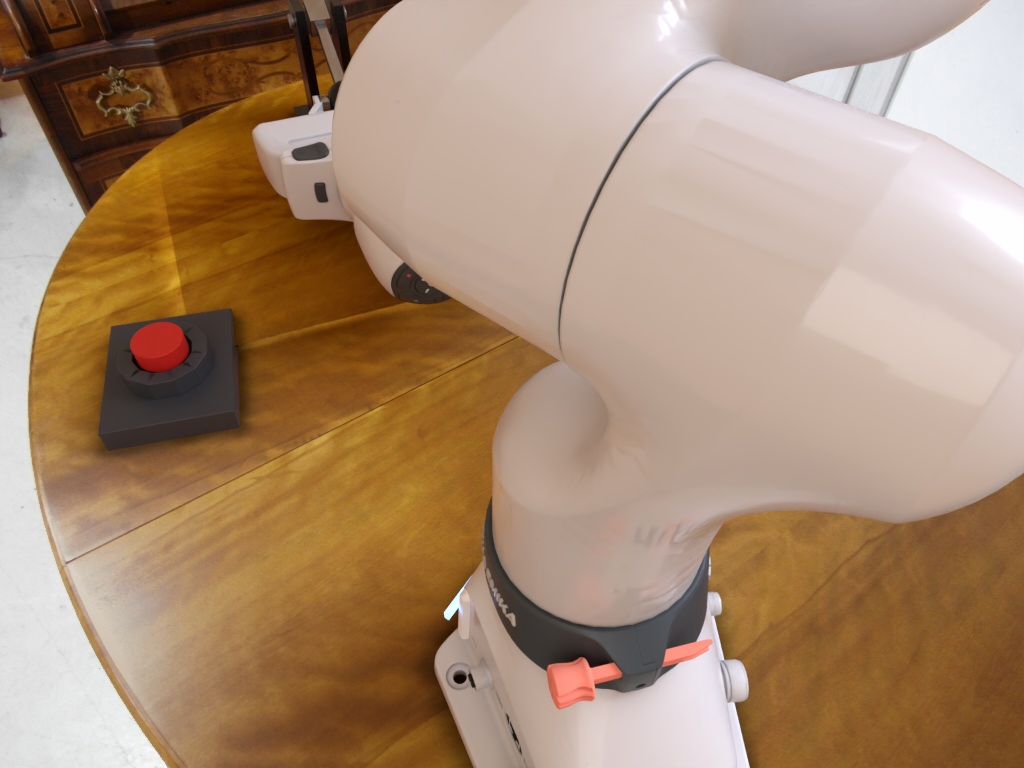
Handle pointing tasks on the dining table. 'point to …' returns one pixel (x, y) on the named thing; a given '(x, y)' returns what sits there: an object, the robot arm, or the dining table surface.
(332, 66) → the lever
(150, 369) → the button
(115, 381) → the button box
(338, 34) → the bracket
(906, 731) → the dining table surface
